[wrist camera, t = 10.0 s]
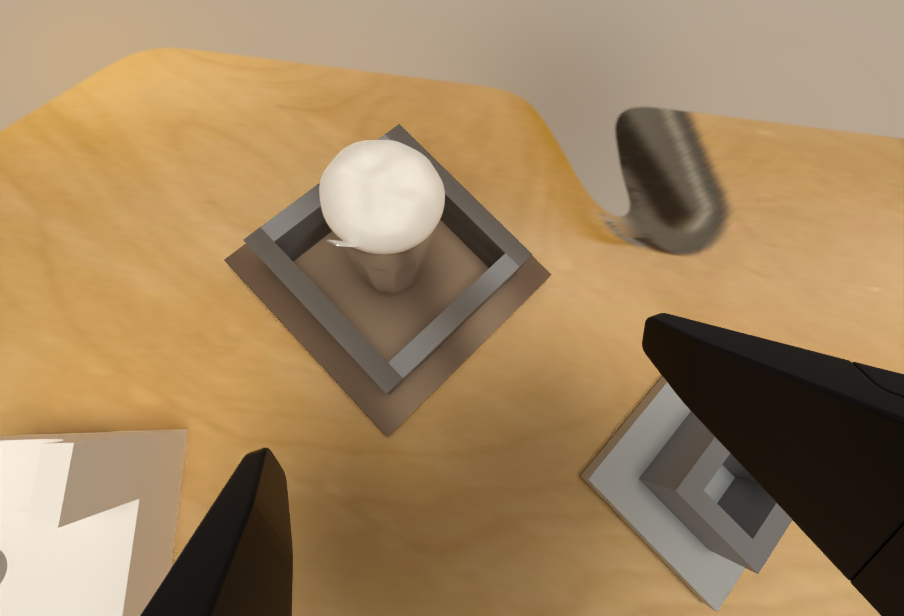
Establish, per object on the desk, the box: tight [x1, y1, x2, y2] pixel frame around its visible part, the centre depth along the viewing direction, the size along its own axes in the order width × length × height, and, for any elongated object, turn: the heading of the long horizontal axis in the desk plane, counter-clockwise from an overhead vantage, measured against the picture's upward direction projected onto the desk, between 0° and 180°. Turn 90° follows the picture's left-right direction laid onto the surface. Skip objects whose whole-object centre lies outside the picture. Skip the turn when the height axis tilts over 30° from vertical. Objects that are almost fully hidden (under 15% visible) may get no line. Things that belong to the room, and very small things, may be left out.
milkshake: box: [319, 140, 445, 294], centre depth 17 cm, size 4×5×10 cm
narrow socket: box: [581, 376, 792, 612], centre depth 21 cm, size 9×9×4 cm
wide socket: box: [225, 124, 551, 438], centre depth 21 cm, size 13×13×4 cm
